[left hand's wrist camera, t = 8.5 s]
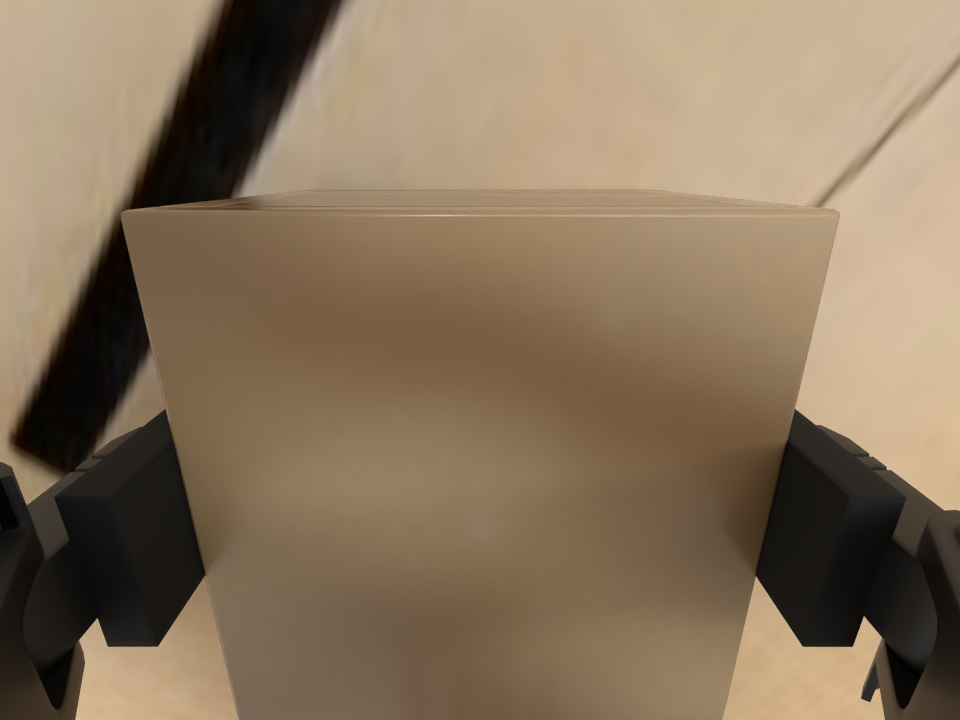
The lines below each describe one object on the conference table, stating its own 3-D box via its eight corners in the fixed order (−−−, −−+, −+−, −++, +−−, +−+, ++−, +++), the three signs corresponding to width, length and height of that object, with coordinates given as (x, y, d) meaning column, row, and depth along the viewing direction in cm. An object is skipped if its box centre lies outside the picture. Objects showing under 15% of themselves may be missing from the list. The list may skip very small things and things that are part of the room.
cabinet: (595, 720, 22) (656, 1008, 14) (365, 720, 22) (305, 1008, 14) (654, 189, 14) (844, 209, 7) (305, 190, 14) (115, 210, 7)
